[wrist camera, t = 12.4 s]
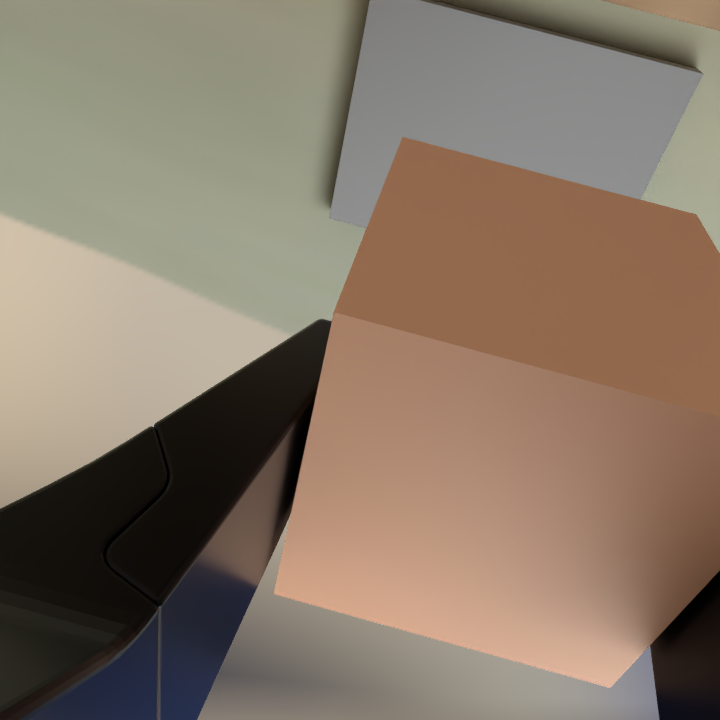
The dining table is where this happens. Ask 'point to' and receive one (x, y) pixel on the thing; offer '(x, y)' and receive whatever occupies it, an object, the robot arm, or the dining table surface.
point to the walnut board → (680, 10)
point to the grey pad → (503, 101)
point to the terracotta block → (515, 419)
